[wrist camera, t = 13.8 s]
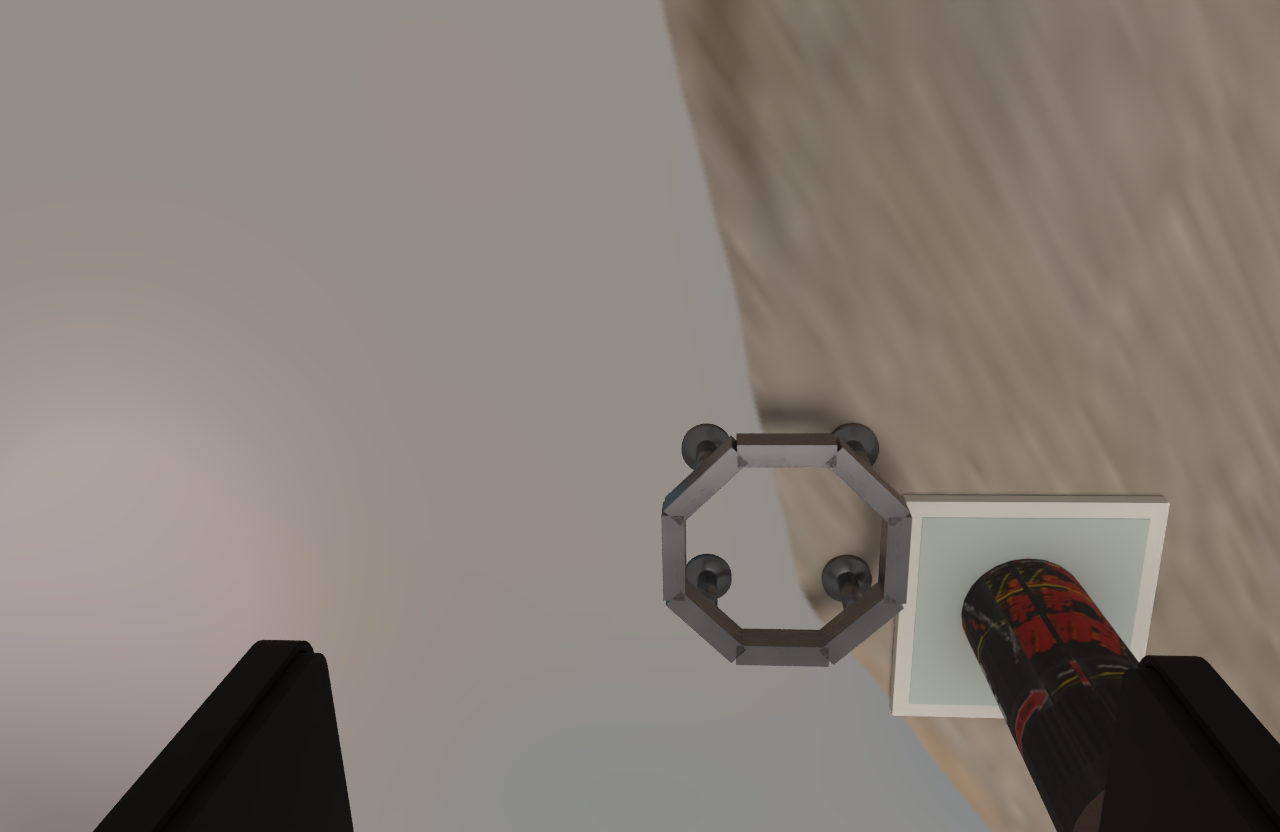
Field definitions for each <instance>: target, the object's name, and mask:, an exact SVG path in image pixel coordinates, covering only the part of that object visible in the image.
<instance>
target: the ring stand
mask: <svg viewBox="0 0 1280 832" xmlns="http://www.w3.org/2000/svg"><path fill="white" fill-rule="evenodd" d="M878 454H879V444H878V441H877V439H876V436H875V435H874V433H873V432H872V431H871V430H870V429H869V428H867V427H866V426H864V425H861V424H855V423H851V424H846V425H843V426H841V427H839V428H837V429H836V430H835V431H834V432H833V433H809V434H737V441H736V440H735V439H734V438H733V437H732V436H730V437H729V436H728V434H727V433H726V432H725V431H724V430H723V429H722V428H720V427H718V426H716V425H713V424H700V425H697V426H695V427H693V428H692V429H690V430H689V431H688V432H687V433H686V435H685V437H684V439H683V442H682V456H683V459H684V460H685V462H686V464H687V465H688V466H689V467H691V468H692V469H693V470H694V471H693V472H692V473H691V474H690V475H689V476H688V477H686V479H684V480H683V481H682V482H681V483H680V484H679V485H678V486H677V487H676V488H675V489H674V490H673V491H672V492H671V493H669V494H668V495H667V496H666V497H665V502H663V509H662V515H661V518H662V557H663V558H662V559H663V600H666V606H667V607H668V608H670V609H671V610H672V611H673V612H674V613H675V614H676V615H678V616H679V617H680V618H681V619H682V620H683V621H684V622H685V623H687V624H688V625H689V626H690V627H691V628H692V629H693V630H695V631H696V632H697V633H698V634H699V635H700V636H701V637H702V638H704V639H705V640H706V641H707V642H708V643H709V644H710V645H712V646H713V647H714V648H715V649H716V650H717V651H718V652H719V653H721V654H722V655H723V656H724V657H725V658H726V659H728V660H729V661H730V662H731V663H732V662H733V661H734V660H735V659H736V664H737V665H772V666H773V665H774V666H822V667H828V665H829V661H830V662H831V663H832V664H835V663H837V662H838V661H839V660H840V659H842V658H843V657H844V656H845V655H847V654H848V653H849V652H850V651H852V650H853V649H854V648H855V647H857V646H858V645H859V644H860V643H862V642H863V641H864V640H865V639H867V638H868V637H869V636H870V635H872V634H873V633H874V632H875V631H877V630H878V629H879V628H880V627H881V626H883V625H884V624H885V623H886V622H888V621H889V620H890V619H891V618H893V617H894V616H895V615H896V614H898V613H899V612H900V611H901V610H903V609H904V608H903V605H902V604H906V602H907V587H908V573H909V558H910V544H911V529H912V516H911V514H910V511H909V509H908V506H907V504H906V502H905V500H904V498H903V497H902V496H901V495H900V494H899V493H898V492H897V491H896V490H894V489H893V488H892V487H891V486H890V485H889V484H888V483H887V482H886V481H885V480H884V479H883V478H882V477H881V476H880V475H879V474H878V473H877V472H876V471H875V470H874V469H873V468H872V465H873V464H874V463H875V461H876V459H877V457H878ZM743 467H830V468H831V469H832V470H833V471H834V472H835V473H836V474H837V475H838V476H839V477H840V478H841V479H842V480H844V481H845V482H846V483H847V484H848V485H849V486H850V487H851V488H852V489H853V490H854V491H855V492H856V493H857V494H858V495H859V496H860V497H861V498H862V499H863V500H864V501H866V502H867V503H868V504H869V505H870V506H871V507H872V508H873V509H874V510H875V511H876V512H877V513H878V514H879V515H880V516H881V517H882V526H881V543H880V560H879V578H878V582H877V583H876V584H875V585H874V586H872V587H871V584H872V576H871V573H870V570H869V568H868V566H867V564H866V563H865V562H864V561H863V560H861V559H860V558H858V557H855V556H850V555H844V556H839V557H836V558H834V559H832V560H831V561H830V562H829V563H828V564H827V565H826V566H825V568H824V570H823V573H822V581H823V586H824V589H825V591H826V592H827V594H828V595H829V596H830V597H832V598H833V599H835V600H837V601H841V602H842V604H843V608H844V610H843V611H842V612H841V613H840V614H838V615H837V616H836V617H835V618H834V619H832V620H831V621H830V622H829V623H827V624H826V625H825V626H824V627H823V628H821V629H820V630H791V629H742V628H740V627H739V626H738V625H737V624H736V623H735V622H734V621H733V620H731V619H730V618H729V617H728V616H727V615H726V614H725V613H724V612H722V611H721V610H720V609H719V608H718V607H717V598H719V597H721V596H723V595H724V594H725V593H726V592H727V591H728V589H729V588H730V585H731V570H730V567H729V565H728V564H727V563H726V562H725V560H723V559H722V558H720V557H719V556H716V555H713V554H702V555H698V556H696V557H694V558H693V559H691V560H690V561H689V562H688V564H687V565H686V520H687V519H688V518H689V517H690V516H691V515H692V514H693V513H694V512H695V511H696V510H697V509H699V508H700V507H701V506H702V505H703V504H704V503H705V502H706V501H707V500H708V499H710V498H711V496H713V495H714V494H715V493H716V492H717V491H718V490H719V489H720V488H721V487H723V486H724V485H725V484H726V483H727V482H728V481H729V480H730V479H731V478H732V477H734V476H735V475H736V474H737V473H738V472H739V471H740V470H741V469H742V468H743ZM870 587H871V588H870Z"/></svg>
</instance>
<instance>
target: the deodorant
mask: <svg viewBox="0 0 1280 832" xmlns="http://www.w3.org/2000/svg"><path fill="white" fill-rule="evenodd" d="M961 617H962V627H963V630H964V632H965V634H966V637H967V639H968V641H969V643H970V646H971V648H972V650H973V652H974V654H975V656H976V658H977V661H978V663H979V665H980V667H981V669H982V671H983V674H984V676H985V678H986V680H987V682H988V684H989V686H990V689H991V691H992V693H993V695H994V697H995V699H996V701H997V704H998V706H999V708H1000V710H1001V712H1002V714H1003V717H1004V719H1005V721H1006V723H1007V725H1008V727H1009V729H1010V732H1011V734H1012V736H1013V738H1014V740H1015V742H1016V744H1017V747H1018V749H1019V751H1020V753H1021V755H1022V757H1023V759H1024V762H1025V764H1026V766H1027V768H1028V770H1029V772H1030V775H1031V777H1032V779H1033V781H1034V783H1035V785H1036V787H1037V790H1038V792H1039V794H1040V796H1041V798H1042V800H1043V802H1044V805H1045V807H1046V809H1047V811H1048V813H1049V815H1050V818H1051V820H1052V822H1053V824H1054V826H1055V828H1056V830H1057V832H1098V831H1099V824H1100V818H1101V811H1102V805H1103V799H1104V792H1105V786H1106V779H1107V773H1108V766H1109V760H1110V753H1111V747H1112V740H1113V734H1114V727H1115V721H1116V714H1117V708H1118V701H1119V695H1120V688H1121V682H1122V678H1123V674H1124V672H1125V671H1126V670H1127V669H1129V668H1138V664H1139V662H1138V660H1137V659H1136V658H1135V656H1134V655H1133V654H1132V652H1131V651H1130V650H1129V648H1128V647H1127V646H1126V644H1125V643H1124V642H1123V640H1122V639H1121V638H1120V636H1119V635H1118V634H1117V632H1116V631H1115V630H1114V628H1113V627H1112V626H1111V624H1110V623H1109V622H1108V620H1107V619H1106V618H1105V616H1104V615H1103V614H1102V612H1101V611H1100V610H1099V608H1098V607H1097V606H1096V604H1095V603H1094V602H1093V600H1092V599H1091V598H1090V596H1089V595H1088V594H1087V592H1086V591H1085V590H1084V588H1083V587H1082V586H1081V585H1080V583H1079V582H1078V581H1077V580H1076V578H1075V577H1074V576H1073V575H1072V574H1071V573H1070V572H1069V571H1067V570H1066V569H1064V568H1063V567H1061V566H1060V565H1057V564H1055V563H1052V562H1049V561H1046V560H1040V559H1030V558H1027V559H1019V560H1011V561H1008V562H1006V563H1003V564H1000V565H997V566H995V567H994V568H992V569H991V570H989V571H987V572H986V573H984V574H983V575H982V576H981V577H980V578H979V579H978V580H977V581H976V582H975V583H974V584H973V585H972V586H971V588H970V590H969V592H968V593H967V595H966V597H965V599H964V603H963V608H962V612H961Z"/></svg>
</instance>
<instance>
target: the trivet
mask: <svg viewBox="0 0 1280 832" xmlns="http://www.w3.org/2000/svg"><path fill="white" fill-rule="evenodd" d="M903 498H904V500H905V502H906V504H907V506H908V509H909V511H910V514H911V516H912V529H911V544H910V558H909V573H908V587H907V602H906V604H902V605H903V608H904V609H903V610H901V611H900V612H899V613H898V614H896V615H895V629H894V645H893V660H892V675H891V691H890V710H891V713H892V715H895V716H933V717H974V718H1004V717H1003V714H1002V712H1001V710H1000V708H999V706H998V704H997V701H996V699H995V697H994V695H993V693H992V691H991V689H990V686H989V684H988V682H987V680H986V678H985V676H984V674H983V671H982V669H981V667H980V665H979V663H978V661H977V658H976V656H975V654H974V652H973V650H972V648H971V646H970V643H969V641H968V639H967V637H966V634H965V632H964V630H963V627H962V617H961V612H962V608H963V603H964V599H965V597H966V595H967V593H968V592H969V590H970V588H971V586H972V585H973V584H974V583H975V582H976V581H977V580H978V579H979V578H980V577H981V576H982V575H983V574H984V573H986V572H987V571H989V570H991V569H992V568H994V567H995V566H997V565H1000V564H1003V563H1006V562H1008V561H1011V560H1019V559H1027V558H1030V559H1040V560H1046V561H1049V562H1052V563H1055V564H1057V565H1060V566H1061V567H1063V568H1064V569H1066V570H1067V571H1069V572H1070V573H1071V574H1072V575H1073V576H1074V577H1075V578H1076V580H1077V581H1078V582H1079V583H1080V585H1081V586H1082V587H1083V588H1084V590H1085V591H1086V592H1087V594H1088V595H1089V596H1090V598H1091V599H1092V600H1093V602H1094V603H1095V604H1096V606H1097V607H1098V608H1099V610H1100V611H1101V612H1102V614H1103V615H1104V616H1105V618H1106V619H1107V620H1108V622H1109V623H1110V624H1111V626H1112V627H1113V628H1114V630H1115V631H1116V632H1117V634H1118V635H1119V636H1120V638H1121V639H1122V640H1123V642H1124V643H1125V644H1126V646H1127V647H1128V648H1129V650H1130V651H1131V652H1132V654H1133V655H1134V656H1135V658H1136V659H1137V660H1138V662H1140V661H1141V659H1142V658H1143V657H1145V653H1146V647H1147V641H1148V634H1149V628H1150V622H1151V616H1152V610H1153V604H1154V598H1155V592H1156V585H1157V579H1158V573H1159V567H1160V561H1161V555H1162V549H1163V542H1164V536H1165V530H1166V524H1167V518H1168V512H1169V506H1170V503H1169V502H1168V501H1167V500H1166V499H1165V498H1164V497H1163V496H1011V495H903Z"/></svg>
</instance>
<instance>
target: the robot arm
mask: <svg viewBox="0 0 1280 832" xmlns="http://www.w3.org/2000/svg"><path fill="white" fill-rule="evenodd" d="M93 832H353V823H352V818H351V811H350V804H349V798H348V792H347V786H346V779H345V773H344V766H343V760H342V755H341V747H340V742H339V735H338V728H337V722H336V716H335V709H334V703H333V697H332V691H331V684H330V679H329V671H328V665H327V661H326V659H325V657H324V655H323V654H321V653H314V651H313V648H312V647H311V645H310V643H308V642H307V641H293V640H291V641H290V640H261V641H257V642H256V643H255V644H254V645H253V646H252V647H251V648H250V649H249V650H248V652H247V653H246V654H245V655H244V656H243V657H242V659H241V660H240V661H239V662H238V663H237V664H236V666H235V667H234V668H233V669H232V670H231V671H230V673H229V674H228V675H227V676H226V677H225V678H224V679H223V681H222V682H221V683H220V684H219V685H218V686H217V688H216V689H215V690H214V691H213V692H212V694H211V695H210V696H209V697H208V698H207V699H206V700H205V702H204V703H203V704H202V705H201V706H200V708H199V709H198V710H197V711H196V712H195V713H194V714H193V716H192V717H191V718H190V719H189V720H188V721H187V723H186V724H185V725H184V726H183V727H182V728H181V730H180V731H179V732H178V733H177V734H176V735H175V737H174V738H173V739H172V740H171V741H170V742H169V744H168V745H167V746H166V747H165V748H164V749H163V751H162V752H161V753H160V754H159V755H158V756H157V758H156V759H155V760H154V761H153V762H152V763H151V764H150V766H149V767H148V768H147V769H146V770H145V771H144V773H143V774H142V775H141V776H140V777H139V778H138V780H137V781H136V782H135V783H134V784H133V785H132V787H131V788H130V789H129V790H128V791H127V792H126V794H125V795H124V796H123V797H122V798H121V799H120V801H119V802H118V803H117V804H116V805H115V806H114V808H113V809H112V810H111V811H110V812H109V813H108V815H107V816H106V817H105V818H104V819H103V821H102V822H101V823H100V824H99V825H98V826H97V828H96V829H95V830H94V831H93ZM1098 832H1280V744H1279V743H1278V742H1277V741H1276V739H1275V738H1274V737H1273V736H1272V735H1271V734H1270V733H1269V731H1268V730H1267V729H1266V728H1265V727H1264V726H1263V725H1262V723H1261V722H1260V721H1259V720H1258V719H1257V718H1256V717H1255V715H1254V714H1253V713H1252V712H1251V711H1250V710H1249V709H1248V707H1247V706H1246V705H1245V704H1244V703H1243V702H1242V701H1241V699H1240V698H1239V697H1238V696H1237V695H1236V694H1235V693H1234V691H1233V690H1232V689H1231V688H1230V687H1229V686H1228V685H1227V683H1226V682H1225V681H1224V680H1223V679H1222V678H1221V677H1220V675H1219V674H1218V673H1217V672H1216V671H1215V670H1214V669H1213V667H1212V666H1211V665H1210V664H1209V663H1208V662H1207V661H1206V660H1205V659H1203V658H1202V657H1197V656H1155V655H1147V656H1145V657H1143V658H1142V659H1141V661H1140V662H1139V664H1138V668H1129V669H1127V670H1126V671H1125V672H1124V674H1123V678H1122V682H1121V688H1120V695H1119V701H1118V708H1117V714H1116V721H1115V727H1114V734H1113V740H1112V747H1111V753H1110V760H1109V766H1108V773H1107V779H1106V786H1105V792H1104V799H1103V805H1102V811H1101V818H1100V824H1099V831H1098Z"/></svg>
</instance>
